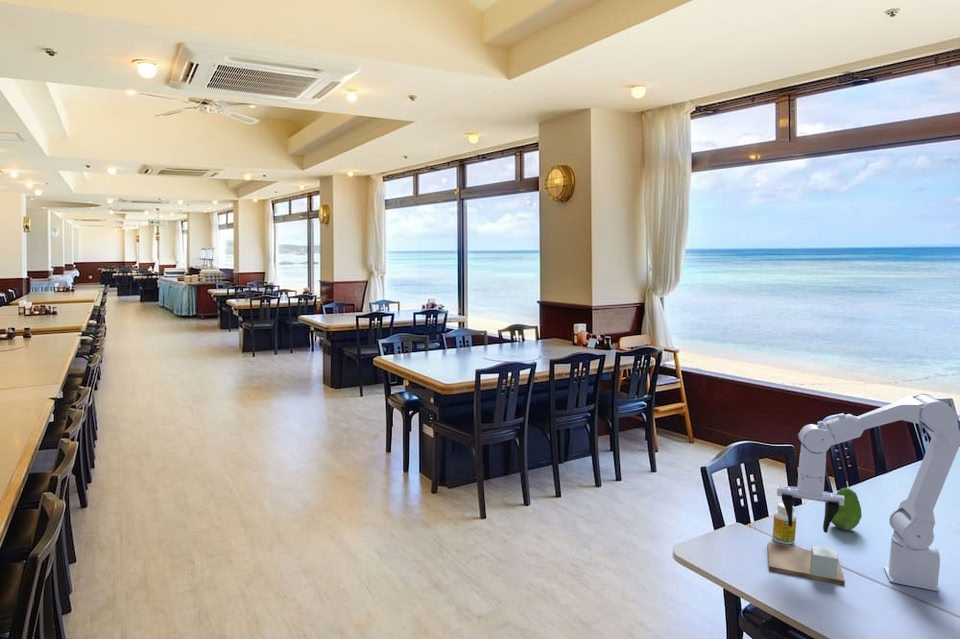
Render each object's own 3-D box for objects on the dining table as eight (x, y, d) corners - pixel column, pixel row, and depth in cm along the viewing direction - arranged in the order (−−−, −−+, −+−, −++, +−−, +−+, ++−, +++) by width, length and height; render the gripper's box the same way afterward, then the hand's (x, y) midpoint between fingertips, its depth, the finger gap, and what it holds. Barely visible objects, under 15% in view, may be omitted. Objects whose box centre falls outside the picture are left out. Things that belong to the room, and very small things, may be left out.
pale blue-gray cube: (833, 569, 151) (835, 549, 150) (836, 579, 146) (837, 558, 146) (810, 565, 153) (811, 545, 152) (812, 574, 148) (813, 554, 148)
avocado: (851, 537, 172) (855, 494, 171) (822, 527, 178) (825, 486, 177) (864, 530, 176) (868, 489, 175) (835, 520, 183) (839, 480, 182)
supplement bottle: (782, 545, 166) (784, 510, 165) (767, 536, 171) (770, 502, 170) (799, 543, 167) (801, 508, 166) (784, 535, 172) (787, 500, 171)
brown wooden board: (837, 559, 159) (837, 555, 159) (844, 585, 146) (844, 581, 146) (767, 546, 165) (767, 542, 165) (768, 570, 152) (769, 566, 152)
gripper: (843, 473, 154) (838, 527, 155) (778, 465, 160) (774, 516, 161) (847, 483, 148) (842, 538, 149) (779, 473, 153) (775, 527, 155)
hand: (807, 527), depth 155 cm, fingers open, 7 cm apart
